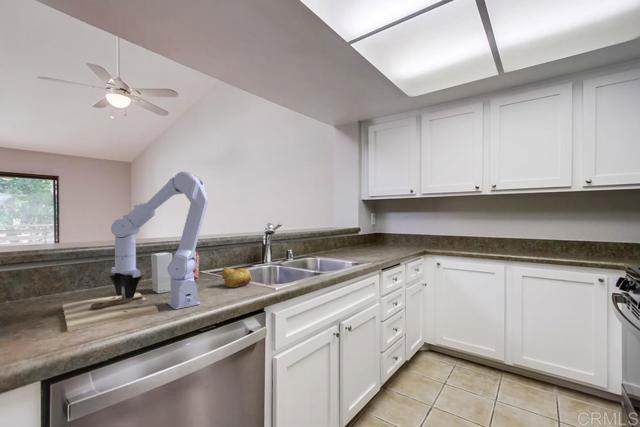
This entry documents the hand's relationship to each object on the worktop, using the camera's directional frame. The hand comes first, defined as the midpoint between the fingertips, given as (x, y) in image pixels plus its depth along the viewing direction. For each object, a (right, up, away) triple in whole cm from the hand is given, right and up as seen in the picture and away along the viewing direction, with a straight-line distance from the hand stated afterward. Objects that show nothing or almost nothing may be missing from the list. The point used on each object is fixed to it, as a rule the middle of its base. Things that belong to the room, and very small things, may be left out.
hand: (125, 296), depth 96 cm
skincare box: (+2, -3, +19) cm, 19 cm away
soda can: (+6, -3, +35) cm, 35 cm away
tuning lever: (-1, -1, -3) cm, 3 cm away
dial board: (-2, -3, -5) cm, 6 cm away
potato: (+30, -3, +28) cm, 41 cm away
